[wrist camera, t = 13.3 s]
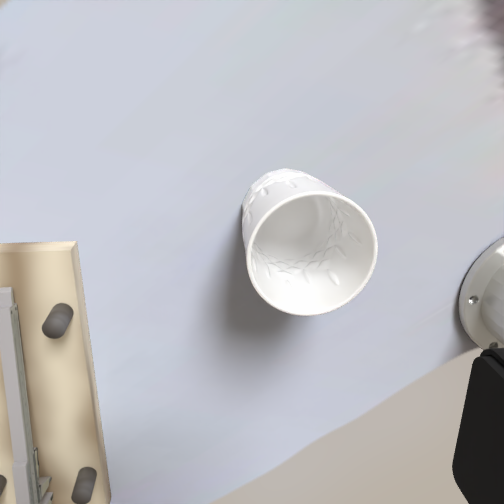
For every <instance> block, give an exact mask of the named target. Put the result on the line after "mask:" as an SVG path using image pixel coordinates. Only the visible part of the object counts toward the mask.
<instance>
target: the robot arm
mask: <svg viewBox="0 0 504 504" xmlns="http://www.w3.org/2000/svg"><path fill="white" fill-rule="evenodd" d="M459 315H460V320H461V323H462V325H463V328H464V330H465V332H466V333H467V334H468V336H469V337H470V338H471V340H472V341H474V342H475V343H476V344H477V345H478V346H479V347H480V348H481V349H483V352H482V353H481V355H480V357H477V358H475V360H474V361H473V364H472V369H471V374H470V379H469V384H468V389H467V394H466V399H465V404H464V409H463V414H462V419H461V424H460V429H459V434H458V438H457V443H456V448H455V453H454V459H453V465H452V468H453V469H452V470H453V475H454V478H455V481H456V483H457V485H458V487H459V489H460V490H461V492H462V493H463V495H464V496H465V498H466V500H467V501H468V503H469V504H504V237H503V238H501V239H500V240H498V241H496V242H495V243H494V244H493V245H491V246H490V247H489V248H488V249H487V250H485V251H484V252H483V254H482V255H481V256H480V257H479V258H478V259H477V260H476V261H475V263H474V264H473V266H472V267H471V269H470V271H469V272H468V274H467V276H466V278H465V280H464V283H463V285H462V288H461V293H460V297H459Z"/></svg>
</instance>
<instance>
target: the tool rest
mask: <svg viewBox="0 0 504 504" xmlns="http://www.w3.org/2000/svg"><path fill="white" fill-rule="evenodd" d="M3 287H12V288H13V295H14V303H17V306H18V315H19V324H20V333H21V342H22V351H23V360H24V369H25V378H26V387H27V396H28V405H29V413H30V422H31V431H32V439H33V447H37V448H38V461H39V477H46V476H51V477H52V479H51V481H50V483H49V486H48V488H47V490H46V492H53V500H52V503H51V504H110V499H111V492H110V484H109V477H108V469H107V462H106V454H105V447H104V439H103V432H102V425H101V417H100V410H99V402H98V395H97V387H96V380H95V372H94V365H93V358H92V350H91V343H90V335H89V328H88V320H87V313H86V305H85V298H84V290H83V283H82V276H81V268H80V261H79V253H78V246H77V241H68V242H35V243H2V244H0V288H3ZM13 463H14V458H13V450H12V441H11V433H10V425H9V417H8V409H7V401H6V393H5V385H4V376H3V368H2V360H1V352H0V504H16V497H15V488H14V479H13V471H12V465H13ZM46 492H45V493H46Z"/></svg>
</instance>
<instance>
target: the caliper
mask: <svg viewBox="0 0 504 504" xmlns="http://www.w3.org/2000/svg"><path fill="white" fill-rule="evenodd" d="M0 352H1V360H2V368H3V376H4V385H5V393H6V401H7V409H8V417H9V425H10V433H11V441H12V450H13V458H14V463H13V465H12V471H13V479H14V488H15V497H16V504H51V503H52V500H53V492H46V490H47V488H48V486H49V483H50V481H51V479H52V477H51V476H46V477H39V461H38V448H37V447H33V439H32V431H31V422H30V413H29V405H28V396H27V387H26V378H25V369H24V360H23V351H22V342H21V333H20V324H19V315H18V306H17V303H14V295H13V288H12V287H3V288H0ZM45 492H46V493H45Z"/></svg>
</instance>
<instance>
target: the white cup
mask: <svg viewBox="0 0 504 504" xmlns="http://www.w3.org/2000/svg"><path fill="white" fill-rule="evenodd" d="M242 233H243V242H244V249H245V255H246V263H247V270H248V274H249V277H250V280H251V282H252V285H253V286H254V288H255V290H256V291H257V293H258V294H259V295H260V296H261V297H262V298H263V299H264V300H265V301H266V302H267V303H268V304H270V305H271V306H273V307H274V308H276V309H278V310H280V311H282V312H285V313H288V314H292V315H298V316H315V315H321V314H325V313H328V312H331V311H334V310H336V309H338V308H340V307H342V306H344V305H345V304H347V303H348V302H350V301H351V300H352V299H353V298H355V297H356V296H357V295H358V294H359V293H360V292H361V290H362V289H363V288H364V287H365V285H366V284H367V282H368V281H369V279H370V277H371V275H372V273H373V271H374V268H375V265H376V260H377V254H378V243H377V236H376V232H375V229H374V227H373V224H372V222H371V220H370V219H369V217H368V216H367V214H366V213H365V212H364V211H363V210H362V209H361V208H360V207H359V206H358V205H357V204H356V203H354V202H353V201H351V200H350V199H348V198H347V197H345V196H344V195H342V194H341V193H339V192H338V191H336V190H335V189H333V188H332V187H330V186H329V185H327V184H325V183H323V182H322V181H320V180H318V179H317V178H314V177H312V176H310V175H308V174H307V173H305V172H302V171H297V170H292V169H288V168H284V169H280V170H276V171H272V172H268V173H266V174H264V175H263V176H262V177H261V178H259V179H258V180H257V181H256V182H255V183H253V184H252V185H251V186H250V188H249V190H248V192H247V195H246V197H245V199H244V201H243V203H242Z"/></svg>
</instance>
